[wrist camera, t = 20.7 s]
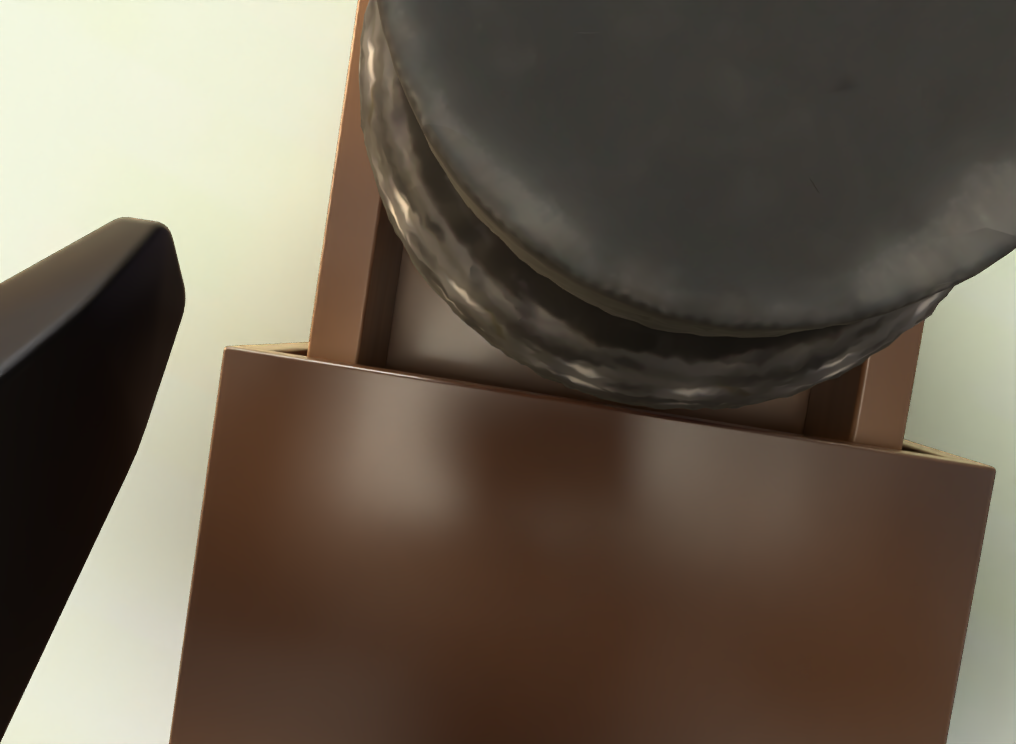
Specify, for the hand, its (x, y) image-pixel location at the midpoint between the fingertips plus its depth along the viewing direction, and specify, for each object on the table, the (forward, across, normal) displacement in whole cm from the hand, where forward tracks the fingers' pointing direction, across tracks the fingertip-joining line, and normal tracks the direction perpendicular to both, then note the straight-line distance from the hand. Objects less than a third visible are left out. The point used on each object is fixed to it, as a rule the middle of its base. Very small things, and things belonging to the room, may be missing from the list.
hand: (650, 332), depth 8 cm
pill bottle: (+7, 0, +4) cm, 8 cm away
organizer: (+2, 0, +12) cm, 12 cm away
